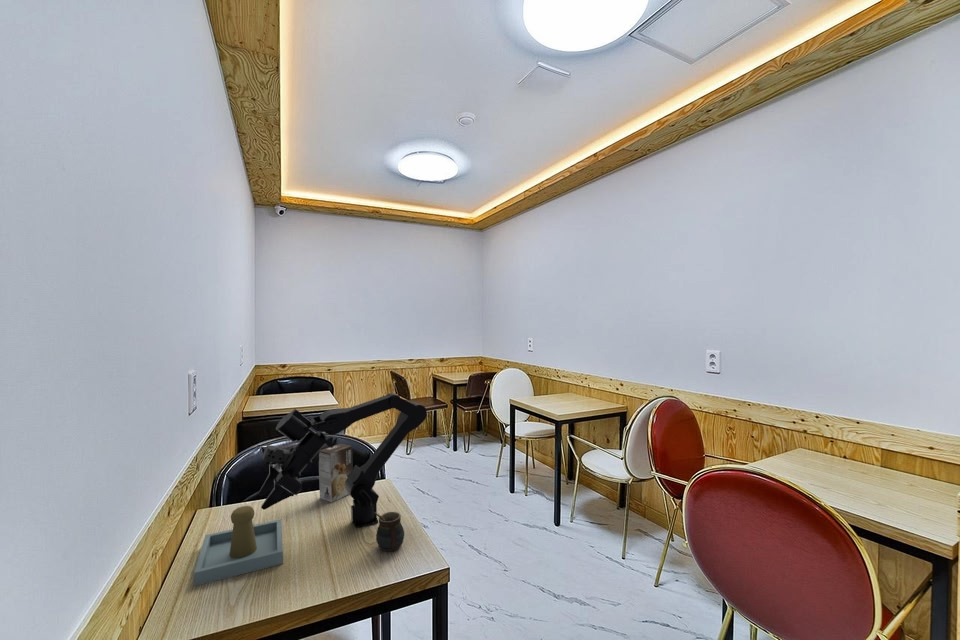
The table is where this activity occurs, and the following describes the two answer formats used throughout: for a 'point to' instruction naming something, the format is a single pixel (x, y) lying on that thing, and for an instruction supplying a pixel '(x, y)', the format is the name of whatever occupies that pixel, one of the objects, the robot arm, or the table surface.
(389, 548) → the mate gourd
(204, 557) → the slate tray
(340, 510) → the table surface
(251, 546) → the cork
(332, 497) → the coffee box
